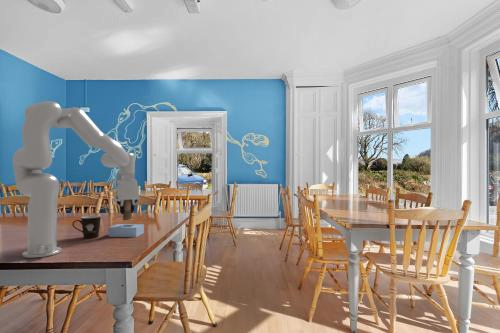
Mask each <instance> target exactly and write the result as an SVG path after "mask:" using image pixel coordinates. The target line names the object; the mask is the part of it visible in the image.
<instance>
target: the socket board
mask: <svg viewBox="0 0 500 333" xmlns="http://www.w3.org/2000/svg"><path fill="white" fill-rule="evenodd" d="M144 233H145V224H139V223H138V224H132V223H131V224H130V223H129V224H128V223H127V224H126V223H123V224H122V223H121V224H120V223H119V224H118V223H117V224H114V225H112V226H111V225H110V226H109V227H108V237H109V238H110V237H112V238H115V237H116V238H118V237H119V238H120V237H121V238H137V237H139V236H141V235H143V234H144Z"/></svg>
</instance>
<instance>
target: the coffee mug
mask: <svg viewBox="0 0 500 333" xmlns="http://www.w3.org/2000/svg"><path fill="white" fill-rule="evenodd" d="M101 218H102V215H85V216H81V217H80V219H81V220H80V219H76V220H73V221H72V227H73V228H74V229H75V230H77V231H78V232H81V233H82V236H83V239H87V240H89V239H90V240H91V239H97V238H99V234H100V228H101ZM76 222H79V223H80V224H81V227H82V228H81V229H82V230H81V229H79V228H77V227H76V226H75V223H76Z"/></svg>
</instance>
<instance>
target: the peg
mask: <svg viewBox="0 0 500 333" xmlns="http://www.w3.org/2000/svg"><path fill="white" fill-rule="evenodd" d="M123 206H124V214H122V220H123V221H131V220H132V213H131V200H124V203H123Z"/></svg>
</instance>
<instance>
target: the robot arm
mask: <svg viewBox="0 0 500 333" xmlns="http://www.w3.org/2000/svg"><path fill="white" fill-rule="evenodd" d="M23 114H24V117H25V120H24V121H23V124H22V130H21V132H22V134H21V135H22V136H21V137H22V144H23V145H22V146H23V147H20V148H18V149H17V150H16V151H15V152H14V154H13V156H12V167H13V174H14V179H15V185H16V188H17V190H18V192H19V193H20V194H21V195H23V196H26V197H29V200H28V203H27V204H28V205H27V250H25V251H23V252H22V257H23V258H28V259H29V258H30V259H34V258H37V259H38V258H45V257H50V256H53V255H57V254H60V253H61V252H62V248H61V247H60V246H58V245H57V244H58V198H59V194H60V187H61V186H60V181H59V180H58V178H57V177H56V176H54V174H50V173H47V172H46V173H45V172H42V171H43V170H46V169H48V168H49V167H51V165H52V162H53V156H52V150H51V143H50V131H51V128H55V129H57V128H58V129H71V130H72V131H74V132H75V134H76V135H77V136H78V137H79V138H80V139H81V140H82V141H83V142H84V143H85V144H86V145H88V146H90V147H92V148H96V149H99V150H100V151H101V150H102V151H103V152H105V153H104V154H102V156H101V157H100V162H101V164H102V166H104V167H105V168H106V167H107V168H118V173H117V175H115V178H116V179H118V180H117V181H116V187H115V195H114V197H113V198H112V202H114V203H116V204H117V205H118V206H119V213H120V214H121V215H123V214H124V206H123V203H124V200H131V214H134V212H135V205H136V204H137V203H138V202H139V201H140V200H141V199H142V197H141V196H140V195H139V184H138V181H137V179H135V178H136V173H135V172H136V168H135V166H136V161H135V154H134V153H133V152H127V151H126V150H125V148H124V147H123V146H122V145H121V144H120V143H119V142H118V141H117V140H115V139H113V138H112V137H110V136H109V135H107V134H106V133H104V132H102V131H101V129H100V128H99V127H98V126H97V125H96V124H95V123H94V122H93V120H92V118H90V117H89V116H88V114H87V113H86V112H85V111H84V110H83V109H81V108H79V107H76V106H74V107H68V108H62V107H61V105H60V104H59V103H58V102H56V101H51V100H50V101H49V100H47V101H46V100H45V101H41V102H37V103H32V104H30V105H28V106H27V107H26V108H25V109H24V113H23Z"/></svg>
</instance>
